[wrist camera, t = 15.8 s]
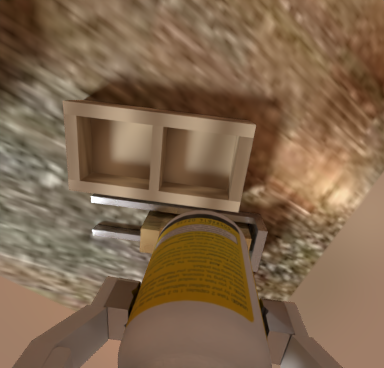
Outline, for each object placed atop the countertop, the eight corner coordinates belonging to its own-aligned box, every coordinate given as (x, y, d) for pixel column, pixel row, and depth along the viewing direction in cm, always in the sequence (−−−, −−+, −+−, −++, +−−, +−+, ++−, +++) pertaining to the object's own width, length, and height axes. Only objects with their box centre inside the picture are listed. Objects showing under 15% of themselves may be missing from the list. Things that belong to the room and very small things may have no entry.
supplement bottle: (141, 229, 15) (25, 458, 6) (222, 192, 13) (243, 413, 4) (185, 291, 16) (149, 551, 7) (260, 264, 15) (337, 538, 6)
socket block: (260, 214, 29) (267, 231, 26) (235, 314, 35) (239, 340, 31) (95, 192, 30) (79, 206, 26) (98, 295, 36) (85, 318, 32)
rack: (249, 120, 26) (256, 124, 22) (234, 197, 29) (238, 212, 25) (83, 99, 26) (62, 100, 22) (87, 177, 29) (69, 189, 25)
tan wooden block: (246, 221, 30) (253, 243, 25) (241, 241, 31) (247, 266, 26) (150, 208, 30) (140, 228, 26) (149, 229, 31) (139, 251, 27)
